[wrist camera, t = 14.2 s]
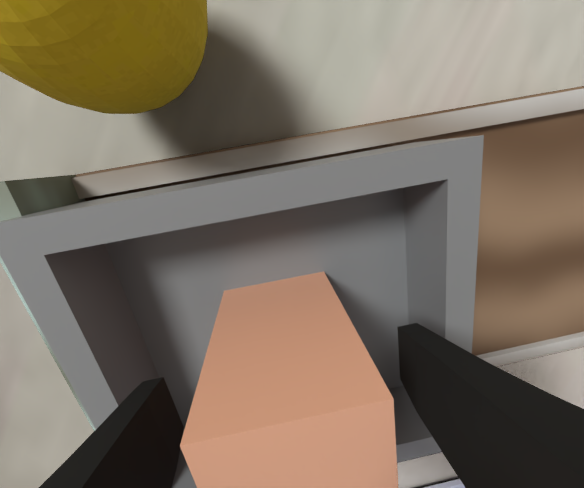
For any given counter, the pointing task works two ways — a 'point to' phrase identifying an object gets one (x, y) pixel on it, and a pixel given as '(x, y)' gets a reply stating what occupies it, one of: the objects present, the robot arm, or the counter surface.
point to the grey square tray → (254, 267)
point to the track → (492, 219)
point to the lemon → (104, 50)
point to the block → (289, 395)
